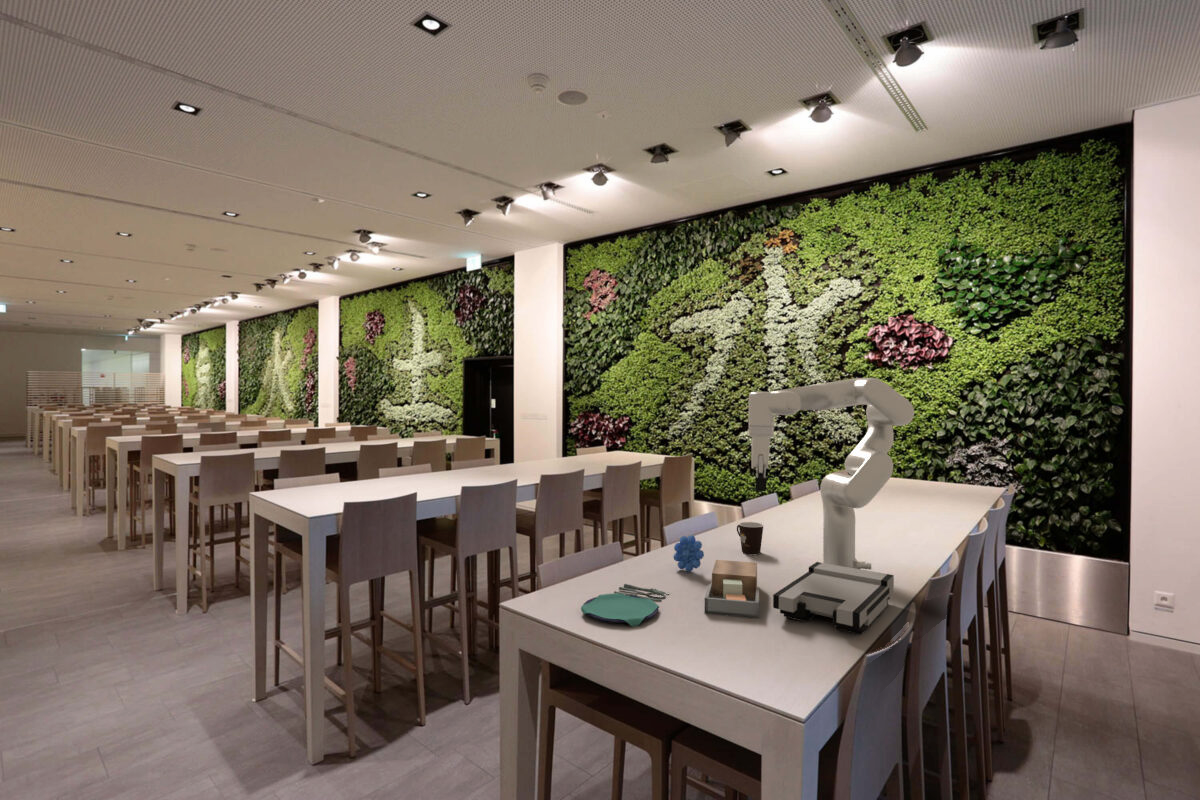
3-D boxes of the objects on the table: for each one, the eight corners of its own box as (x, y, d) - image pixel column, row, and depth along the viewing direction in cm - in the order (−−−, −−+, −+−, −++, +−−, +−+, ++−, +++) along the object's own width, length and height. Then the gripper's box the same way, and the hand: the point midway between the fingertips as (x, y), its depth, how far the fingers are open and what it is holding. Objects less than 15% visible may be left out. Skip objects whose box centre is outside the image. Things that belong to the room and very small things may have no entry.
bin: (759, 602, 166) (759, 587, 166) (758, 618, 154) (758, 602, 154) (709, 597, 170) (709, 583, 170) (704, 613, 158) (704, 598, 158)
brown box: (757, 586, 180) (757, 562, 180) (756, 601, 167) (756, 576, 166) (716, 582, 183) (716, 559, 183) (711, 598, 170) (711, 573, 170)
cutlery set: (568, 619, 155) (568, 610, 155) (619, 587, 182) (619, 579, 182) (639, 634, 146) (639, 624, 146) (682, 598, 172) (682, 590, 172)
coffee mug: (766, 555, 214) (766, 527, 213) (741, 555, 214) (741, 527, 214) (758, 547, 225) (758, 520, 225) (734, 547, 225) (734, 520, 225)
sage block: (741, 580, 167) (742, 584, 163) (741, 598, 167) (742, 603, 163) (723, 579, 168) (723, 583, 164) (723, 597, 168) (723, 602, 164)
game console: (773, 622, 153) (773, 589, 153) (816, 589, 178) (816, 561, 178) (859, 643, 140) (859, 608, 140) (893, 605, 165) (893, 575, 165)
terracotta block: (746, 601, 158) (746, 610, 158) (744, 594, 163) (744, 604, 163) (726, 600, 158) (726, 609, 158) (725, 593, 163) (725, 603, 163)
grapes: (711, 572, 194) (711, 535, 193) (698, 577, 189) (698, 538, 189) (682, 565, 202) (682, 529, 202) (669, 569, 197) (669, 532, 197)
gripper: (749, 429, 196) (749, 486, 196) (747, 432, 182) (747, 494, 182) (773, 430, 194) (773, 487, 194) (773, 433, 180) (773, 495, 180)
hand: (760, 490), depth 188 cm, fingers closed
